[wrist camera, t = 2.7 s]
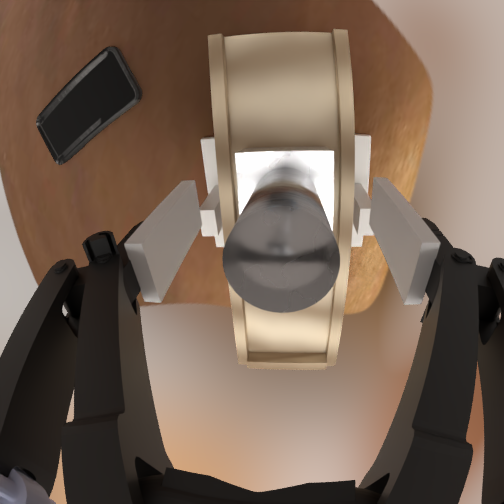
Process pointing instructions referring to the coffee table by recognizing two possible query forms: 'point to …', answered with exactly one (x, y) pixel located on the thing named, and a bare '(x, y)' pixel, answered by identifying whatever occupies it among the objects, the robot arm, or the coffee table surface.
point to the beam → (286, 135)
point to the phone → (88, 104)
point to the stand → (361, 198)
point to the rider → (283, 228)
